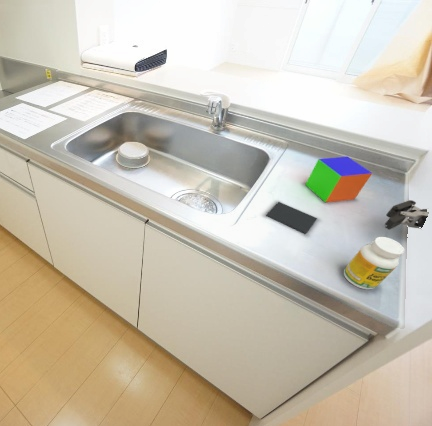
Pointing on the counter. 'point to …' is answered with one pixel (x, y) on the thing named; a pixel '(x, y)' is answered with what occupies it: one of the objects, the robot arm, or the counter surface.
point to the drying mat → (291, 217)
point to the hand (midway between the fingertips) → (414, 239)
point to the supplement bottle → (373, 263)
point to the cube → (337, 179)
